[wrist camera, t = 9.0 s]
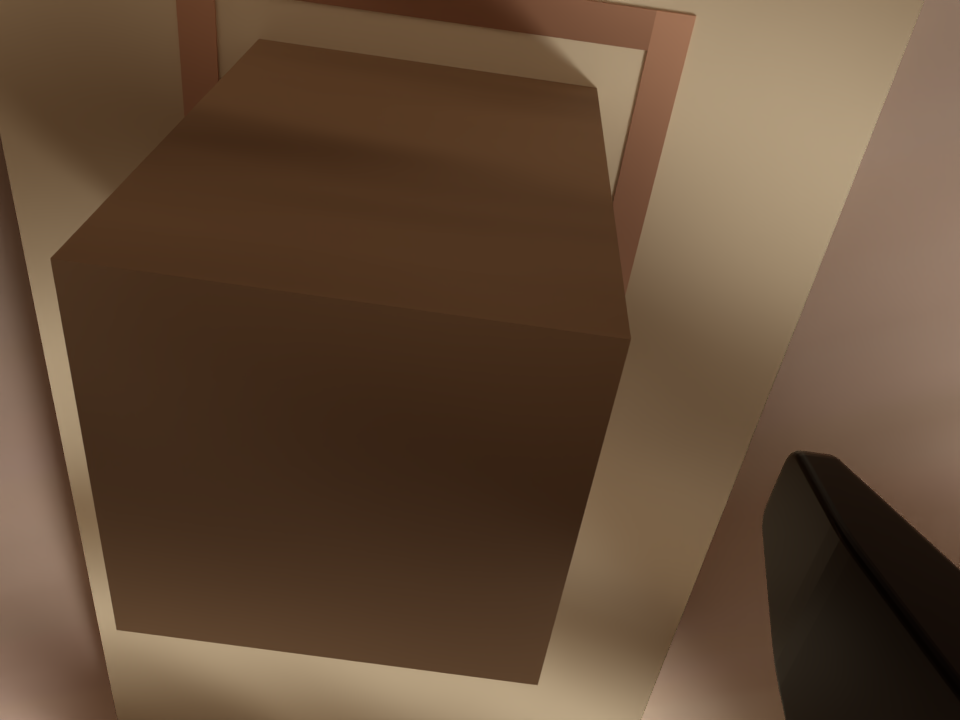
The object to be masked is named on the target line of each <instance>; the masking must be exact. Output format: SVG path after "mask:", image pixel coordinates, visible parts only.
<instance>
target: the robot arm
mask: <svg viewBox="0 0 960 720" xmlns="http://www.w3.org/2000/svg"><path fill="white" fill-rule="evenodd" d="M762 531H763V543H764V555H765V566H766V578H767V589H768V600H769V612H770V623H771V634H772V645H773V654H774V662H775V669H776V675H777V680H778V686H779V691H780V696H781V700H782V705H783V710H784V715H785V720H960V569H959V568H957V567H956V566H955V565H954V564H953V563H952V562H951V561H950V560H949V559H948V558H947V557H945V556H944V555H943V554H942V553H941V552H940V551H939V550H938V549H937V548H936V547H934V546H933V545H932V544H931V543H930V542H929V541H928V540H927V539H926V538H925V537H923V536H922V535H921V534H920V533H919V532H918V531H917V530H916V529H915V528H914V527H912V526H911V525H910V524H909V523H908V522H907V521H906V520H905V519H904V518H903V517H902V516H900V515H899V514H898V513H897V512H896V511H895V510H894V509H893V508H892V507H891V506H889V505H888V504H887V503H886V502H885V501H884V500H883V499H882V498H881V497H880V496H878V495H877V494H876V493H875V492H874V491H873V490H872V489H871V488H870V487H869V486H867V485H866V484H865V483H864V482H863V481H862V480H861V479H860V478H859V477H858V476H857V475H855V474H854V473H853V472H852V471H851V470H850V469H849V468H848V467H847V466H846V465H844V464H843V463H842V462H841V461H840V460H839V459H837V458H836V457H834V456H832V455H828V454H821V453H814V452H807V451H796V452H793V453H791V454H790V455H789V457H788V458H787V459H786V461H785V463H784V466H783V468H782V470H781V473H780V475H779V477H778V479H777V482H776V484H775V486H774V489H773V491H772V493H771V496H770V498H769V500H768V503H767V505H766V508H765V511H764V515H763V524H762Z"/></svg>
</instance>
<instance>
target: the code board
mask: <svg viewBox="0 0 960 720" xmlns="http://www.w3.org/2000/svg"><path fill="white" fill-rule="evenodd" d="M923 3H924V0H0V136H1V141H2V146H3V151H4V156H5V161H6V166H7V171H8V176H9V181H10V186H11V191H12V196H13V201H14V206H15V211H16V216H17V221H18V226H19V231H20V236H21V241H22V246H23V251H24V256H25V261H26V266H27V271H28V276H29V281H30V286H31V291H32V296H33V301H34V306H35V311H36V316H37V321H38V326H39V331H40V336H41V341H42V346H43V351H44V356H45V361H46V366H47V371H48V376H49V381H50V386H51V391H52V396H53V401H54V406H55V411H56V416H57V421H58V426H59V431H60V436H61V441H62V446H63V451H64V456H65V461H66V466H67V471H68V476H69V481H70V486H71V491H72V496H73V501H74V506H75V511H76V516H77V521H78V526H79V531H80V536H81V541H82V546H83V551H84V556H85V561H86V566H87V571H88V576H89V581H90V586H91V591H92V596H93V601H94V606H95V611H96V616H97V621H98V626H99V631H100V636H101V641H102V646H103V651H104V656H105V661H106V666H107V671H108V676H109V681H110V686H111V691H112V696H113V701H114V706H115V711H116V716H117V720H641V718H642V716H643V713H644V711H645V708H646V706H647V703H648V701H649V698H650V695H651V693H652V690H653V688H654V685H655V683H656V680H657V678H658V675H659V673H660V670H661V668H662V665H663V662H664V660H665V657H666V655H667V652H668V650H669V647H670V645H671V642H672V640H673V637H674V635H675V632H676V630H677V627H678V624H679V622H680V619H681V617H682V614H683V612H684V609H685V607H686V604H687V602H688V599H689V597H690V594H691V591H692V589H693V586H694V584H695V581H696V579H697V576H698V574H699V571H700V569H701V566H702V564H703V561H704V558H705V556H706V553H707V551H708V548H709V546H710V543H711V541H712V538H713V536H714V533H715V531H716V528H717V526H718V523H719V520H720V518H721V515H722V513H723V510H724V508H725V505H726V503H727V500H728V498H729V495H730V493H731V490H732V487H733V485H734V482H735V480H736V477H737V475H738V472H739V470H740V467H741V465H742V462H743V460H744V457H745V454H746V452H747V449H748V447H749V444H750V442H751V439H752V437H753V434H754V432H755V429H756V427H757V424H758V422H759V419H760V416H761V414H762V411H763V409H764V406H765V404H766V401H767V399H768V396H769V394H770V391H771V389H772V386H773V383H774V381H775V378H776V376H777V373H778V371H779V368H780V366H781V363H782V361H783V358H784V356H785V353H786V351H787V348H788V345H789V343H790V340H791V338H792V335H793V333H794V330H795V328H796V325H797V323H798V320H799V318H800V315H801V312H802V310H803V307H804V305H805V302H806V300H807V297H808V295H809V292H810V290H811V287H812V285H813V282H814V279H815V277H816V274H817V272H818V269H819V267H820V264H821V262H822V259H823V257H824V254H825V252H826V249H827V247H828V244H829V241H830V239H831V236H832V234H833V231H834V229H835V226H836V224H837V221H838V219H839V216H840V214H841V211H842V208H843V206H844V203H845V201H846V198H847V196H848V193H849V191H850V188H851V186H852V183H853V181H854V178H855V175H856V173H857V170H858V168H859V165H860V163H861V160H862V158H863V155H864V153H865V150H866V148H867V145H868V143H869V140H870V137H871V135H872V132H873V130H874V127H875V125H876V122H877V120H878V117H879V115H880V112H881V110H882V107H883V104H884V102H885V99H886V97H887V94H888V92H889V89H890V87H891V84H892V82H893V79H894V77H895V74H896V71H897V69H898V66H899V64H900V61H901V59H902V56H903V54H904V51H905V49H906V46H907V44H908V41H909V39H910V36H911V33H912V31H913V28H914V26H915V23H916V21H917V18H918V16H919V13H920V11H921V8H922V6H923ZM258 39H264V40H271V41H278V42H285V43H292V44H298V45H305V46H312V47H319V48H326V49H333V50H340V51H347V52H354V53H360V54H367V55H374V56H381V57H388V58H395V59H402V60H409V61H415V62H422V63H429V64H436V65H443V66H450V67H457V68H464V69H471V70H477V71H484V72H491V73H498V74H505V75H512V76H519V77H526V78H533V79H539V80H546V81H553V82H560V83H567V84H574V85H581V86H588V87H594V88H597V92H598V100H599V107H600V114H601V122H602V129H603V136H604V144H605V151H606V158H607V166H608V173H609V180H610V188H611V195H612V203H613V210H614V217H615V225H616V232H617V239H618V247H619V254H620V261H621V269H622V276H623V284H624V291H625V298H626V306H627V313H628V320H629V328H630V335H631V342H630V346H629V349H628V353H627V357H626V360H625V364H624V368H623V371H622V375H621V379H620V383H619V386H618V390H617V394H616V397H615V401H614V405H613V408H612V412H611V416H610V420H609V423H608V427H607V431H606V434H605V438H604V442H603V445H602V449H601V453H600V456H599V460H598V464H597V468H596V471H595V475H594V479H593V482H592V486H591V490H590V493H589V497H588V501H587V505H586V508H585V512H584V516H583V519H582V523H581V527H580V530H579V534H578V538H577V542H576V545H575V549H574V553H573V556H572V560H571V564H570V567H569V571H568V575H567V578H566V582H565V586H564V590H563V593H562V597H561V601H560V604H559V608H558V612H557V615H556V619H555V623H554V627H553V630H552V634H551V638H550V641H549V645H548V649H547V652H546V656H545V660H544V663H543V667H542V671H541V675H540V678H539V682H538V685H531V684H524V683H516V682H508V681H501V680H493V679H485V678H478V677H470V676H463V675H455V674H447V673H440V672H432V671H425V670H417V669H409V668H402V667H394V666H387V665H379V664H371V663H364V662H356V661H348V660H341V659H333V658H326V657H318V656H310V655H303V654H295V653H288V652H280V651H272V650H265V649H257V648H250V647H242V646H234V645H227V644H219V643H211V642H204V641H196V640H189V639H181V638H173V637H166V636H158V635H151V634H143V633H135V632H128V631H120V630H116V624H115V619H114V613H113V607H112V602H111V596H110V591H109V585H108V579H107V574H106V568H105V563H104V557H103V551H102V546H101V540H100V535H99V529H98V523H97V518H96V512H95V507H94V501H93V496H92V490H91V484H90V479H89V473H88V468H87V462H86V456H85V451H84V445H83V440H82V434H81V428H80V423H79V417H78V412H77V406H76V400H75V395H74V389H73V384H72V378H71V372H70V367H69V361H68V356H67V350H66V344H65V339H64V333H63V328H62V322H61V316H60V311H59V305H58V300H57V294H56V288H55V283H54V277H53V272H52V266H51V260H50V258H51V257H52V256H53V255H54V254H55V253H56V252H57V251H58V250H59V249H60V248H61V247H62V246H63V244H64V243H65V242H66V241H67V240H68V239H69V238H70V237H71V236H72V235H73V234H74V233H75V232H76V231H77V230H78V229H79V228H80V227H81V226H82V224H83V223H84V222H85V221H86V220H87V219H88V218H89V217H90V216H91V215H92V214H93V213H94V212H95V211H96V210H97V209H98V208H99V207H100V206H101V204H102V203H103V202H104V201H105V200H106V199H107V198H108V197H109V196H110V195H111V194H112V193H113V192H114V191H115V190H116V189H117V188H118V187H119V186H120V184H121V183H122V182H123V181H124V180H125V179H126V178H127V177H128V176H129V175H130V174H131V173H132V172H133V171H134V170H135V169H136V168H137V167H138V166H139V164H140V163H141V162H142V161H143V160H144V159H145V158H146V157H147V156H148V155H149V154H150V153H151V152H152V151H153V150H154V149H155V148H156V147H157V146H158V144H159V143H160V142H161V141H162V140H163V139H164V138H165V137H166V136H167V135H168V134H169V133H170V132H171V131H172V130H173V129H174V128H175V127H176V126H177V124H178V123H179V122H180V121H181V120H182V119H183V118H184V117H185V116H186V115H187V114H188V113H189V112H190V111H191V110H192V109H193V108H194V107H195V106H196V104H197V103H198V102H199V101H200V100H201V99H202V98H203V97H204V96H205V95H206V94H207V93H208V92H209V91H210V90H211V89H212V88H213V87H214V86H215V84H216V83H217V82H218V81H219V80H220V79H221V78H222V77H223V76H224V75H225V74H226V73H227V72H228V71H229V70H230V69H231V68H232V67H233V66H234V65H235V63H236V62H237V61H238V60H239V59H240V58H241V57H242V56H243V55H244V54H245V53H246V52H247V51H248V50H249V49H250V48H251V47H252V46H253V45H254V43H255V42H256V41H257V40H258Z"/></svg>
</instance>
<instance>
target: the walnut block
mask: <svg viewBox="0 0 960 720" xmlns="http://www.w3.org/2000/svg"><path fill="white" fill-rule="evenodd" d="M50 260H51V266H52V272H53V277H54V283H55V288H56V294H57V300H58V305H59V311H60V316H61V322H62V328H63V333H64V339H65V344H66V350H67V356H68V361H69V367H70V372H71V378H72V384H73V389H74V395H75V400H76V406H77V412H78V417H79V423H80V428H81V434H82V440H83V445H84V451H85V456H86V462H87V468H88V473H89V479H90V484H91V490H92V496H93V501H94V507H95V512H96V518H97V523H98V529H99V535H100V540H101V546H102V551H103V557H104V563H105V568H106V574H107V579H108V585H109V591H110V596H111V602H112V607H113V613H114V619H115V624H116V630H120V631H128V632H135V633H143V634H151V635H158V636H166V637H173V638H181V639H189V640H196V641H204V642H211V643H219V644H227V645H234V646H242V647H250V648H257V649H265V650H272V651H280V652H288V653H295V654H303V655H310V656H318V657H326V658H333V659H341V660H348V661H356V662H364V663H371V664H379V665H387V666H394V667H402V668H409V669H417V670H425V671H432V672H440V673H447V674H455V675H463V676H470V677H478V678H485V679H493V680H501V681H508V682H516V683H524V684H531V685H538V682H539V678H540V675H541V671H542V667H543V663H544V660H545V656H546V652H547V649H548V645H549V641H550V638H551V634H552V630H553V627H554V623H555V619H556V615H557V612H558V608H559V604H560V601H561V597H562V593H563V590H564V586H565V582H566V578H567V575H568V571H569V567H570V564H571V560H572V556H573V553H574V549H575V545H576V542H577V538H578V534H579V530H580V527H581V523H582V519H583V516H584V512H585V508H586V505H587V501H588V497H589V493H590V490H591V486H592V482H593V479H594V475H595V471H596V468H597V464H598V460H599V456H600V453H601V449H602V445H603V442H604V438H605V434H606V431H607V427H608V423H609V420H610V416H611V412H612V408H613V405H614V401H615V397H616V394H617V390H618V386H619V383H620V379H621V375H622V371H623V368H624V364H625V360H626V357H627V353H628V349H629V346H630V342H631V335H630V328H629V320H628V313H627V306H626V298H625V291H624V284H623V276H622V269H621V261H620V254H619V247H618V239H617V232H616V225H615V217H614V210H613V203H612V195H611V188H610V180H609V173H608V166H607V158H606V151H605V144H604V136H603V129H602V122H601V114H600V107H599V100H598V92H597V88H594V87H588V86H581V85H574V84H567V83H560V82H553V81H546V80H539V79H533V78H526V77H519V76H512V75H505V74H498V73H491V72H484V71H477V70H471V69H464V68H457V67H450V66H443V65H436V64H429V63H422V62H415V61H409V60H402V59H395V58H388V57H381V56H374V55H367V54H360V53H354V52H347V51H340V50H333V49H326V48H319V47H312V46H305V45H298V44H292V43H285V42H278V41H271V40H264V39H258V40H257V41H256V42H255V43H254V45H253V46H252V47H251V48H250V49H249V50H248V51H247V52H246V53H245V54H244V55H243V56H242V57H241V58H240V59H239V60H238V61H237V62H236V63H235V65H234V66H233V67H232V68H231V69H230V70H229V71H228V72H227V73H226V74H225V75H224V76H223V77H222V78H221V79H220V80H219V81H218V82H217V83H216V84H215V86H214V87H213V88H212V89H211V90H210V91H209V92H208V93H207V94H206V95H205V96H204V97H203V98H202V99H201V100H200V101H199V102H198V103H197V104H196V106H195V107H194V108H193V109H192V110H191V111H190V112H189V113H188V114H187V115H186V116H185V117H184V118H183V119H182V120H181V121H180V122H179V123H178V124H177V126H176V127H175V128H174V129H173V130H172V131H171V132H170V133H169V134H168V135H167V136H166V137H165V138H164V139H163V140H162V141H161V142H160V143H159V144H158V146H157V147H156V148H155V149H154V150H153V151H152V152H151V153H150V154H149V155H148V156H147V157H146V158H145V159H144V160H143V161H142V162H141V163H140V164H139V166H138V167H137V168H136V169H135V170H134V171H133V172H132V173H131V174H130V175H129V176H128V177H127V178H126V179H125V180H124V181H123V182H122V183H121V184H120V186H119V187H118V188H117V189H116V190H115V191H114V192H113V193H112V194H111V195H110V196H109V197H108V198H107V199H106V200H105V201H104V202H103V203H102V204H101V206H100V207H99V208H98V209H97V210H96V211H95V212H94V213H93V214H92V215H91V216H90V217H89V218H88V219H87V220H86V221H85V222H84V223H83V224H82V226H81V227H80V228H79V229H78V230H77V231H76V232H75V233H74V234H73V235H72V236H71V237H70V238H69V239H68V240H67V241H66V242H65V243H64V244H63V246H62V247H61V248H60V249H59V250H58V251H57V252H56V253H55V254H54V255H53V256H52V257H51V258H50Z"/></svg>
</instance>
